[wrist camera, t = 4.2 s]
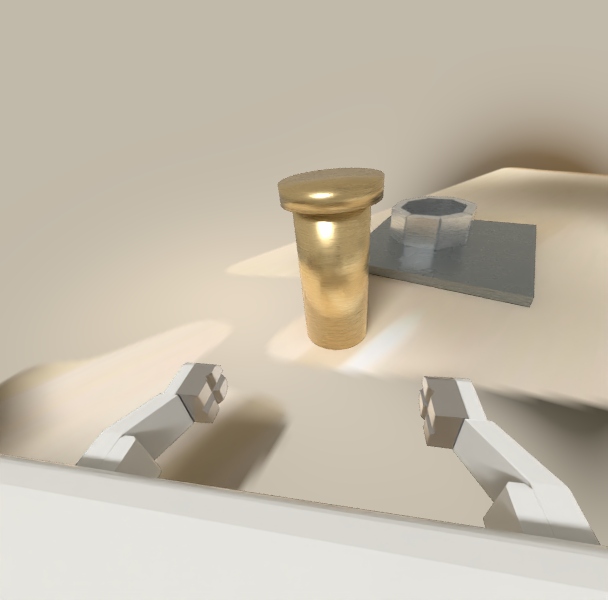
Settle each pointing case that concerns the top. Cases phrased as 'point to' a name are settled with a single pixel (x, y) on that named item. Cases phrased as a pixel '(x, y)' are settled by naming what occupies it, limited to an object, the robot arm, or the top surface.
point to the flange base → (455, 250)
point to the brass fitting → (333, 248)
